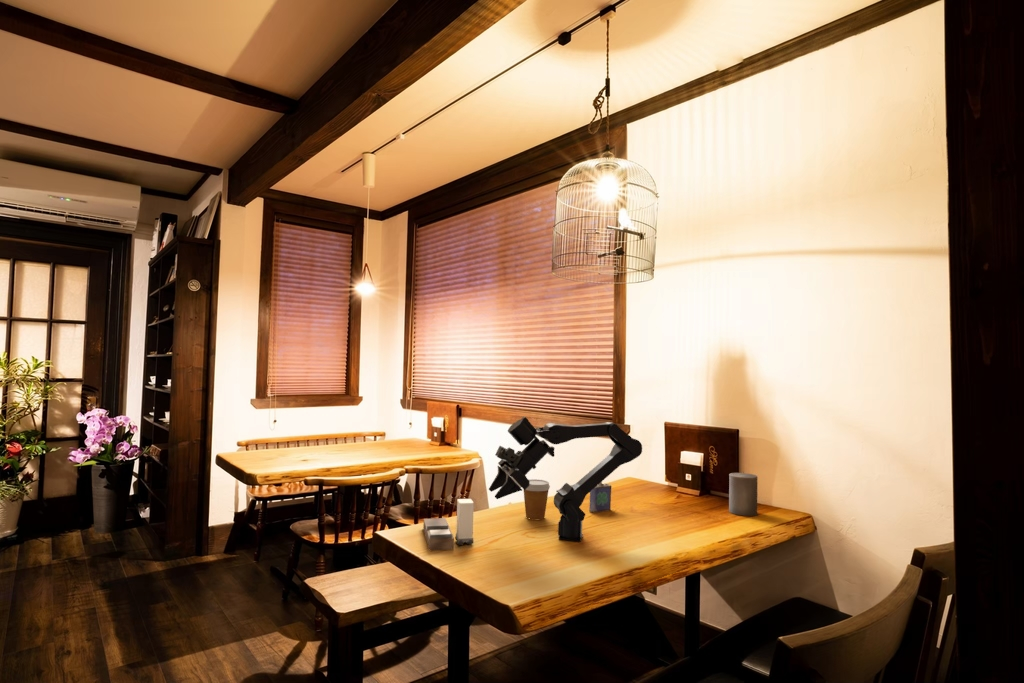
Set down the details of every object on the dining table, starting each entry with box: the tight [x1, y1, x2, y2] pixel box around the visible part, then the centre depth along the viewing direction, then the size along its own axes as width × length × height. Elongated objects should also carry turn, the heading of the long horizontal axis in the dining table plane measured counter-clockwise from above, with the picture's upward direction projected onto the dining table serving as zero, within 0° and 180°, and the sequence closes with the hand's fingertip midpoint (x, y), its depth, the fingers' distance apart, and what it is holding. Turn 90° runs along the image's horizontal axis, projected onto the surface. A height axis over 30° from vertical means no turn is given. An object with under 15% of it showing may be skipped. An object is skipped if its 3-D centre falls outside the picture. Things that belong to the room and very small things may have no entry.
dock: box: [423, 517, 455, 552], centre depth 169 cm, size 7×21×4 cm, turn 13°
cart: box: [454, 498, 475, 546], centre depth 165 cm, size 5×6×12 cm
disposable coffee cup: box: [522, 478, 551, 520], centre depth 194 cm, size 10×10×12 cm
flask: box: [588, 481, 612, 513], centre depth 205 cm, size 9×3×11 cm, turn 121°
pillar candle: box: [728, 471, 758, 517], centre depth 208 cm, size 10×10×15 cm
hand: (492, 494), depth 168 cm, fingers open, 9 cm apart
